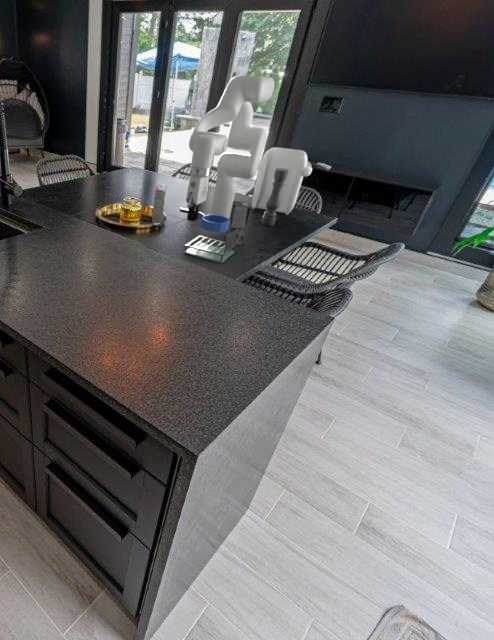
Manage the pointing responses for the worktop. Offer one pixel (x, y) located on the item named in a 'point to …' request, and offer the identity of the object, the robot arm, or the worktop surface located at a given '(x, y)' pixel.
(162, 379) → the worktop surface
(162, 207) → the candy bar box
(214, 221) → the pan
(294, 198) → the toaster
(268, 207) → the candle holder
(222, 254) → the dish rack
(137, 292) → the worktop surface
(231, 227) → the coffee box
